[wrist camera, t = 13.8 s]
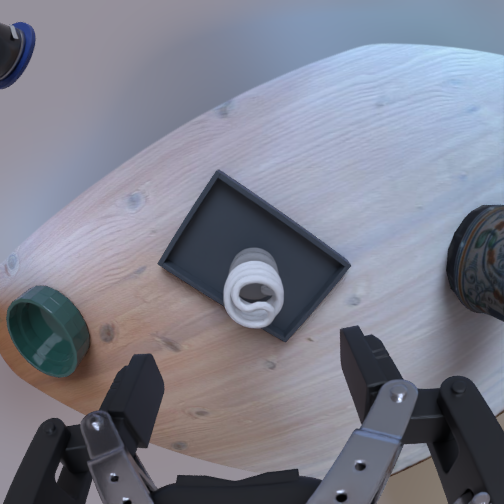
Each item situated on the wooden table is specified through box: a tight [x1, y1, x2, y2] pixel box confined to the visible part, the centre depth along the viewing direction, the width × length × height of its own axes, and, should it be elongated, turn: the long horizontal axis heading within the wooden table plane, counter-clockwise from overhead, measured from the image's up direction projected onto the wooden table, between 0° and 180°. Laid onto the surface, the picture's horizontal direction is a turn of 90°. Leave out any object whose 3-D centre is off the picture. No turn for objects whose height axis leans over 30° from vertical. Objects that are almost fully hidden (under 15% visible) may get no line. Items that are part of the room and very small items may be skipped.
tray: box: [158, 170, 351, 342], centre depth 37 cm, size 19×13×2 cm
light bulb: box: [224, 248, 284, 329], centre depth 32 cm, size 6×6×12 cm
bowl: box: [6, 286, 89, 378], centre depth 40 cm, size 14×14×5 cm
